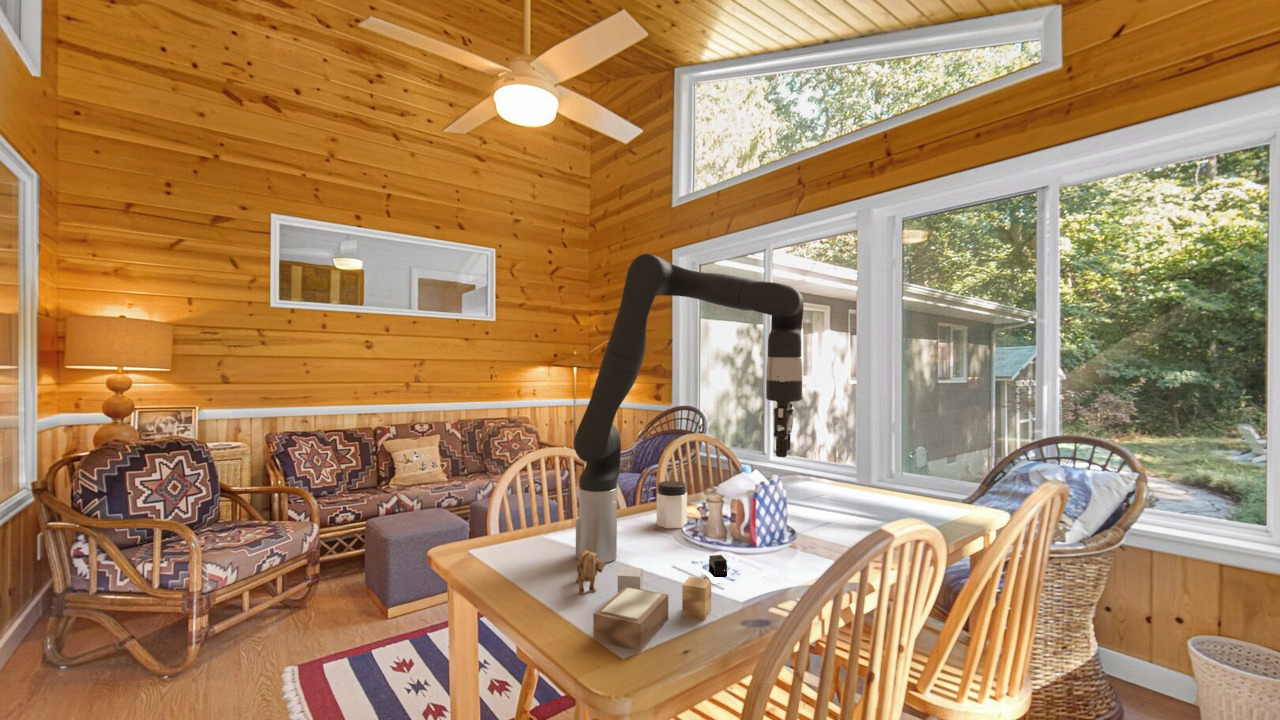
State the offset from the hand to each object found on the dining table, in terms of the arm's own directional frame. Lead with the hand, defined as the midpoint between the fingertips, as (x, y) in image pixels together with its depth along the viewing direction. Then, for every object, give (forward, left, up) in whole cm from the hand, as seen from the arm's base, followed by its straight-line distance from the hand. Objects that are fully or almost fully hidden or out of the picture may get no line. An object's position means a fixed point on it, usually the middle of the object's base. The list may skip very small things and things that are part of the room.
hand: (783, 453), depth 126 cm
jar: (-36, +33, -29) cm, 57 cm away
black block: (-14, 0, -30) cm, 33 cm away
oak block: (-13, -20, -29) cm, 37 cm away
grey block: (-27, -20, -29) cm, 44 cm away
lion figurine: (-38, -17, -29) cm, 51 cm away
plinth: (-22, -31, -29) cm, 48 cm away
